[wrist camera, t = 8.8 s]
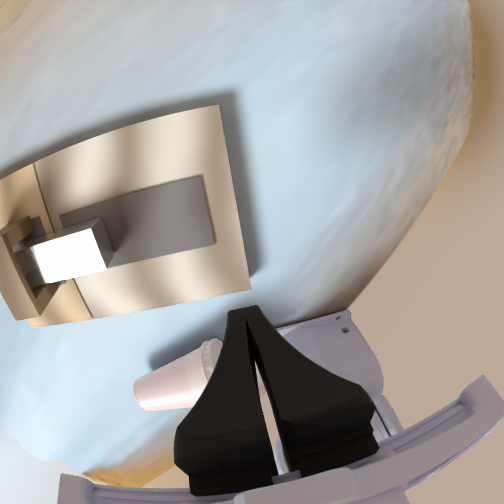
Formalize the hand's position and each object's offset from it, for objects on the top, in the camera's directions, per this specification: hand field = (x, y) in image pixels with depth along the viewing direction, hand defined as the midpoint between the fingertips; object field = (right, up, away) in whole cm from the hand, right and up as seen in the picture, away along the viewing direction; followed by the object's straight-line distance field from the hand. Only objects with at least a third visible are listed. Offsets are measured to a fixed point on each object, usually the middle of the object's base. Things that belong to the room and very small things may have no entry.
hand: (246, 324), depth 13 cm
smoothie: (-11, -11, +12) cm, 20 cm away
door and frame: (-12, +5, +7) cm, 15 cm away
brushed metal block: (-14, +3, +5) cm, 16 cm away
